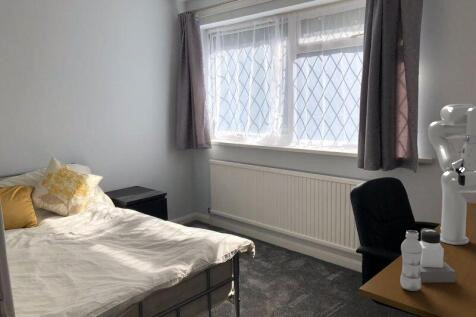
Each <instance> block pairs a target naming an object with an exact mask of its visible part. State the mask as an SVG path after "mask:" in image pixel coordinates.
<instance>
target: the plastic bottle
mask: <svg viewBox="0 0 476 317" xmlns="http://www.w3.org/2000/svg"><path fill="white" fill-rule="evenodd" d="M405 237H406V238H405V239H404V240H403V241H402V243H401V245H400V251H401V257H402V258H401V259H402V267H401V274H400V278H399V281H400V285H401V287H402V288H403V289H404V290H406V291H408V292H409V291H410V292H418V291H419V290H420V289H421V287H422V283H423V282H421V277H420V259H421V254H422V246H421V244H420V242H419V240H418V239H419V232H418V231H417V230H411V229H410V230H406V232H405Z"/></svg>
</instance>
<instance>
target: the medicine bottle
mask: <svg viewBox="0 0 476 317" xmlns="http://www.w3.org/2000/svg"><path fill="white" fill-rule="evenodd" d="M420 240H421V241H419V240H418V241H419V242H420V244H421V246H422V254H421V259H420V264H421V266H422V267H435V268H443V262H445V261H444V260H445V259H444V257H445V248H443V246H442V245H441V241H440V233H439V232H438V231H436V230H431V229H429V230H428V229H427V230H423V231H421V238H420Z"/></svg>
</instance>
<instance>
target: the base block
mask: <svg viewBox="0 0 476 317" xmlns="http://www.w3.org/2000/svg"><path fill="white" fill-rule="evenodd" d="M456 274H457V273H456V270H455V269H453V267H452V266H450V265H449V264H448V263H447V262H445V261H444V262H443V268H435V267H422V266H421V264H420V277H421V283H456Z"/></svg>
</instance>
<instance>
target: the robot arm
mask: <svg viewBox="0 0 476 317" xmlns="http://www.w3.org/2000/svg"><path fill="white" fill-rule="evenodd" d="M439 116H440V118H441V120H436V121H433V122H431V123H430V124H429V125H428V127H427V128H428V129H427V135H428V139H429V142H430V144H431V146H432V147H433V149H434V150H435V152H436V155H437V159H438V162H439V166H440V169H441V170H442V172H443V173H442V174H441V177H440V184H441V194H442V198H441V199H442V201H441V220H440V228H439V229H440V233H439V234H440V243H441V242H442V243H445V244H448V245H456V246H458V245H461V246H462V245H463V246H464V245H467V244H468V243H469V242H470V239H469V238H468V237H467V236H466V228H467V227H466V224H467V207H468V203H467V200H466V199H465V197H464V196H463V195H462V193H463V194H464V193H469V194H470V193H472V194H474V193H476V105H474V104H472V103H451V104H447V105H445V106H443V107H442V108H441V110H440V112H439ZM449 139H461V140H462V142H464V143H463V146H462V149H461V152H458V150H457V147H456V145H455V144H454V143H453V142H452V141H451V140H449Z"/></svg>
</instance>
